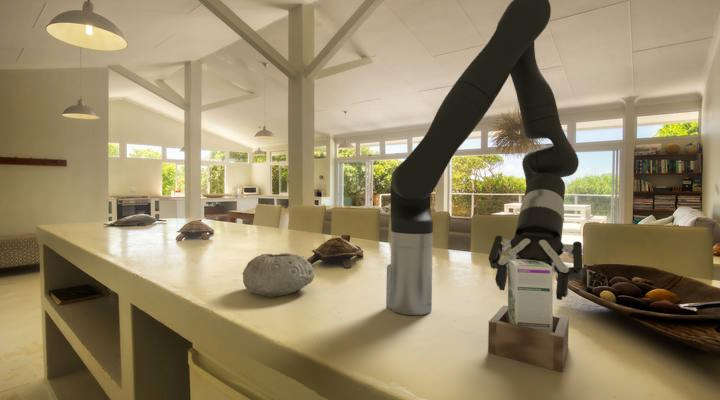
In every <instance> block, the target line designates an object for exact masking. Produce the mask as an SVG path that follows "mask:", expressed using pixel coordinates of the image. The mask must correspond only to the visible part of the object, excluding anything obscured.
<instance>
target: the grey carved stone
mask: <svg viewBox="0 0 720 400" xmlns="http://www.w3.org/2000/svg"><path fill="white" fill-rule="evenodd" d="M314 278H315V270H314V268H313V266H312V263H311V262H309V261H308V259H306V258H305V256H301V255H298V254H293V253H288V252H287V253H286V252H285V253H282V252H281V253H278V254H277V253H274V254H273V253H261V254H260V255H257V256H255V257H254V258H252V259H251V260H249V262H247V264H246V266H245V268H244V269H243V272H242V283H243V284H244V287H245V288H246V289H247V291H249V292H250V293H252V294H255V295H260V296H264V297H268V296H269V297H281V296H285V295H288V294H290V293H295V292H297V291H298V290H301V289H304V288H305V287H306V286H307V287H308V285H309V284H312V282H313V280H314Z"/></svg>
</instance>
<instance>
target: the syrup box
mask: <svg viewBox="0 0 720 400" xmlns="http://www.w3.org/2000/svg"><path fill="white" fill-rule="evenodd" d="M507 272H508V275H507V292H508V293H507V306H508V323H511V324H515V325H520V326H525V327H529V328H534V329H539V330H544V331H548V332H553V315H554V313H553V310H554V309H553V302H554V301H553V273H554V271H553V269H552V267H551V266H549V265H548V264H546V263H544V262H542V261H537V260H529V259H512V260H509V262H508V271H507Z"/></svg>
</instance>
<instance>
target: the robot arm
mask: <svg viewBox="0 0 720 400" xmlns="http://www.w3.org/2000/svg"><path fill="white" fill-rule="evenodd" d="M551 13H552V8H551V3H550V0H512V1H511V2H510V3H509V4H508V6H507V7H506V8H505V11H504V12H503V14H502V15H501V17H500V18H499V20H498V22H497V25H496V29H495V31H494V33H493V35H492V36H491V38H490V39H489V40H488V42H487V43H486V45H484V47H483V49H481V51H480V52H479V53H478V54H477V55H476V56H475V57H474V59H473V60H472V61H471V62H470V64H469V65H468V66H467V67H466V68H465V70H464V71H463V72H462V73H461V74H460V76H459V77H458V79H457V80H456V82H455V83H454V84H453V85H452V87H451V89H450V90H449V91H448V93H447V94H446V96H445V98H444V99H443V100H442V102H441V104H440V106H439V107H438V110H437V111H436V113H435V115H434V118H433V120H432V122H431V124H430V126H429V128H428V130H427V132H426V133H425V135H424V137H423V138H422V140H421V141H419V142H418V144H417V145H416V146H415V148H414V149H413V151H411V153H409V155H408V156H406V158H405V159H404V160H403V161H402V162H401V163H399V165H398V166H396V168H394V170H393V172H392V174H391V178H390V224H391V225H390V226H391V227H390V228H391V229H390V232H391V233H390V264H387V266H386V288H385V289H386V293H385V294H386V296H385V300H386V305H385V308H387V309H390V310H391V311H392V312H395V313H398V314H400V315H408V316H422V315H427V314H430V313H431V312H432V307H433V306H432V305H433V255H434V254H433V252H434V251H433V249H434V248H433V247H434V245H433V244H434V243H433V241H434V221H433V217H432V211H431V210H432V209H431V194H432V193H434V191H435V189H436V187H437V186H438V183H439V182H440V180H441V177H442V176H443V174H444V172H445V170H446V169H447V167H448V165H449V163H450V162H451V160H452V158H453V156H454V155H455V153H456V152H457V151H458V150H459V149H460V147H461V146H462V145H463V144H464V142H465V141H466V140H467V139H468V138H469V136H470V135H471V134H472V133H473V132H474V130H475V129H476V127H477V126H478V125H479V123H480V122H481V121H482V119H483V118H484V116H485V115H486V114H487V113H488V111H489V109H490V108H491V106H492V105H493V104H494V102H495V99H496V98H497V97H498V96H499V94H500V92H501V90H502V89H503V87H504V85H505V83H506V82H507V80H508V78H509V76H510V77H511V80H512V83H513V86H514V89H515V93H516V97H517V98H516V99H517V101H518V106H519V111H520V112H519V113H520V117H521V122H522V127H523V132H524V135H525V136H526V138H527V139H530V140H537V139H538V140H539V139H548V140H550V141H551V143H552V145H551V146H548V147H543V148H538V149H535V150H531V151H529V152H528V153H526V154H525V155H524V157H523V158H522V162H521V163H522V164H521V166H522V169H523V174H524V177H525V192H524V196H523V201H522V203H520V204H521V205H520V208H519V213H518V218H517V223H516V227H515V233H514V236H513V237H512V238H511V239H505V238H503V236H502V235H496V236H495V237H494V240H493V243H492V246H491V249H490V252H489V256H488V262H489V265H490V268H491V269H495V270H496V275H495V278H494V279H495V284H496V287H498V290H500V291H505V290H506V289H505V288H506V283H507V281H508V262H509V260H512V259H529V260H537V261H542V262H544V263H546V264H548V265H549V266H551V267H552V269H553V273H556V275H557V281H556V291H555V294H556V295H555V296H556V300H559V301H563V298H566V297H567V296H568V292H569V281H570V280H574V279H575V280H578V281H579V280H582V279H583V277H584V276H583V275H584V274H583V271H584V269H583V244H582V242H580V241H574V242H573V243H572V244H565V243H563V242H562V238H563V229H564V223H565V206H564V205H565V203H564V202H565V193H566V184H565V182H564V179H563V178H566V177H570V176H572V175H574V174H575V173H576V172H577V171H578V167H579V165H580V163H579V162H580V161H579V157H578V155H577V152H576V151H575V149H574V147H573V145H572V144H571V142H570V141H569V139H568V138H567V135H566V133H565V131H564V129H563V127H562V123H561V120H560V114H559V111H558V105H557V102H556V98H555V97H556V96H555V94H554V92H553V89H552V87H551V86H550V84H549V83H548V82H547V80H546V78H545V77H544V75H543V74H542V72H541V69H540V68H539V65H538V63H537V58H536V52H535V51H536V49H535V41H536V40H537V39H538V37H540V35H541V34H542V33H543V32H544V31H545V29H546V28H547V26H548V24H549V22H550V18H551ZM508 248H511V249H510V250H508V252H507V254H506V255H504V256H503V257H502V254H503V252H505V251H506V250H507V249H508ZM564 253H566V254H567V256H568V257H569V258H571V259H573V260H572V261H573V263H572V264H573V266H571V267H568V266H567V265H566V264H565V263H564V262H563V260H562V259H561V258H562V257H561V255H562V254H564ZM501 257H502V258H501Z"/></svg>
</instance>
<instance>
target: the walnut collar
mask: <svg viewBox="0 0 720 400" xmlns="http://www.w3.org/2000/svg"><path fill="white" fill-rule="evenodd" d="M569 319H570V317H569V316H563V315H557V314H553V332H548V331H544V330H539V329H534V328H529V327H525V326H520V325H515V324H511V323H508V305H502V306H501V308H499V310H498V311H497V312H496V313H495V314H494V315H493V316H492V317H491V318H490V319H489V320H488V336H487V337H488V340H487V348H488V349H487V352H488V353H489V354H493V355H497V356H502V357H504V358H508V359H513V360H516V361H520V362H524V363H527V364H531V365H534V366H539V367H542V368H545V369H550V370H554V371H556V372H561V373H562V372H564V368H565V363H566V358H567V353H568V351H569V350H568V349H569V327H570V322H569V321H570V320H569Z"/></svg>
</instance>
